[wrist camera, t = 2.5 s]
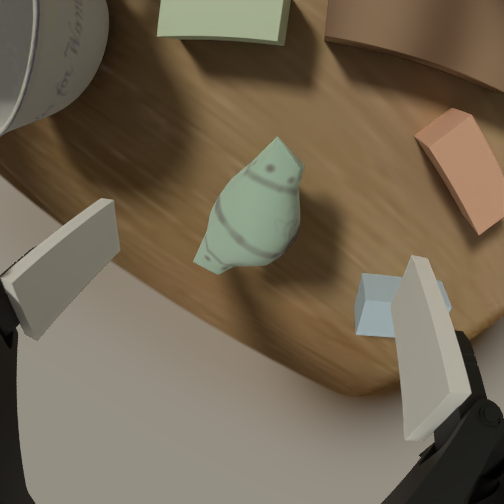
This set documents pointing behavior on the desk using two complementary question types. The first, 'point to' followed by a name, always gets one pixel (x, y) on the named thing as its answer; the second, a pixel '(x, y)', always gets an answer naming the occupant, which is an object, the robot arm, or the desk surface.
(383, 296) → the brick blue
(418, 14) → the plinth
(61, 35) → the teacup
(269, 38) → the brick sage
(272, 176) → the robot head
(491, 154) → the brick terracotta
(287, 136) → the desk surface
